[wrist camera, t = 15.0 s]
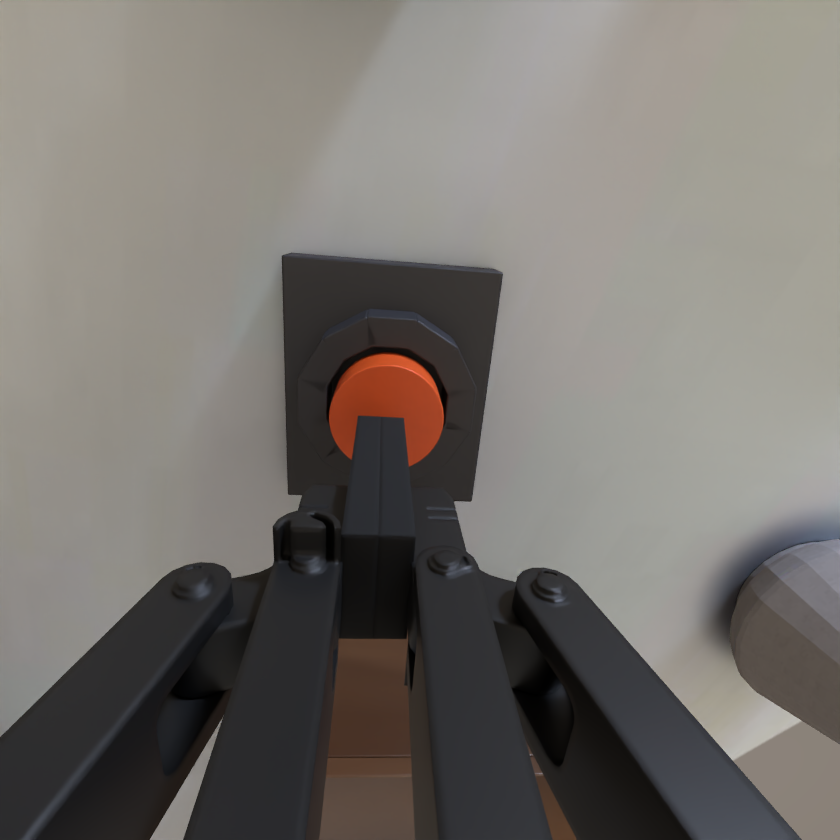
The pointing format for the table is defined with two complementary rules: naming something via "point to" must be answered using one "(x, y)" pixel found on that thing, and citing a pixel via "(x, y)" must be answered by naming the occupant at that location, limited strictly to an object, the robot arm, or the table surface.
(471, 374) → the button housing
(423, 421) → the button
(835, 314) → the table surface
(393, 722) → the cabinet
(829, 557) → the coffee pot
